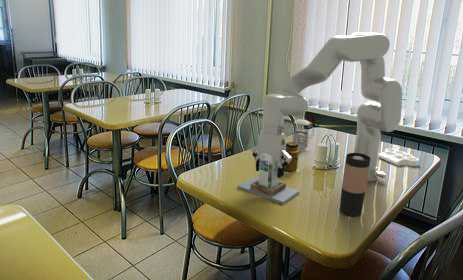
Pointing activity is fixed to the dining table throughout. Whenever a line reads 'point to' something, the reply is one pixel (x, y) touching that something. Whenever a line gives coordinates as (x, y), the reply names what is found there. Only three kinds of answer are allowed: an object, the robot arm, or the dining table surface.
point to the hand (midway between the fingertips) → (269, 173)
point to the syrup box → (268, 172)
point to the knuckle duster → (398, 157)
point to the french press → (304, 139)
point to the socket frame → (266, 190)
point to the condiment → (293, 152)
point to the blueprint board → (279, 197)
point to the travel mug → (354, 184)
